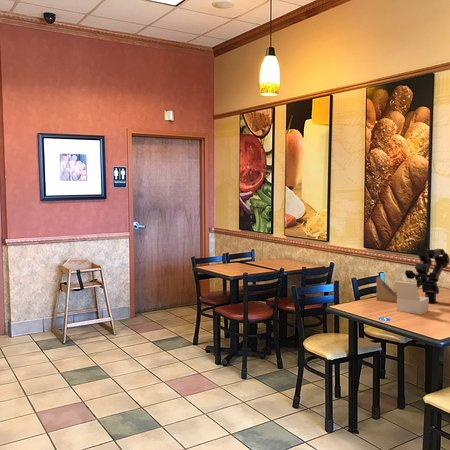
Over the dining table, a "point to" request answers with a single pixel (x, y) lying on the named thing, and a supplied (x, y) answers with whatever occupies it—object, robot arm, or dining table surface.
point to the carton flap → (407, 290)
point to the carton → (413, 305)
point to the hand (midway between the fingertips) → (417, 287)
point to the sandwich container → (385, 292)
